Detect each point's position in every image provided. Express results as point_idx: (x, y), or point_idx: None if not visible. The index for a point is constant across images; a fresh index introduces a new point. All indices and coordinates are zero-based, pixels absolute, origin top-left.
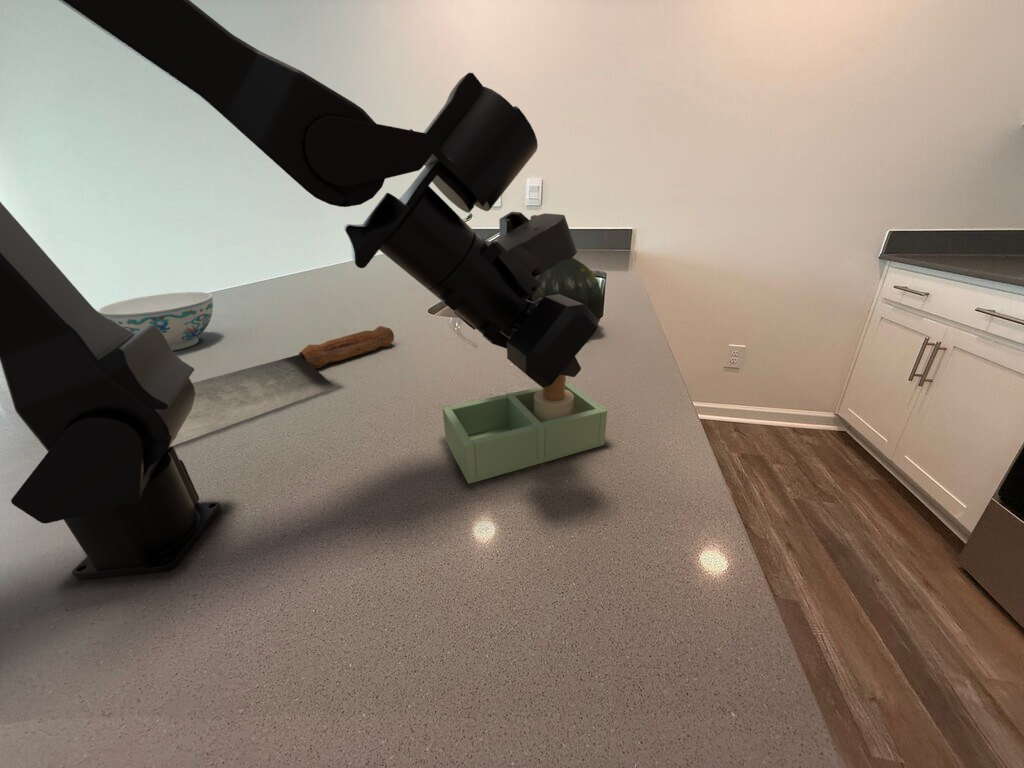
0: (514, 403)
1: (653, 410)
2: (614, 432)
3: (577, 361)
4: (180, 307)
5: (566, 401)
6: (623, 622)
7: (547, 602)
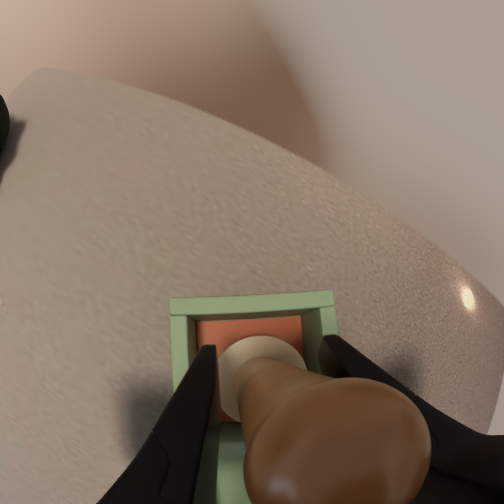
0: (231, 455)
1: (242, 171)
2: (280, 265)
3: (362, 354)
4: None
5: (298, 366)
6: (480, 387)
7: None
